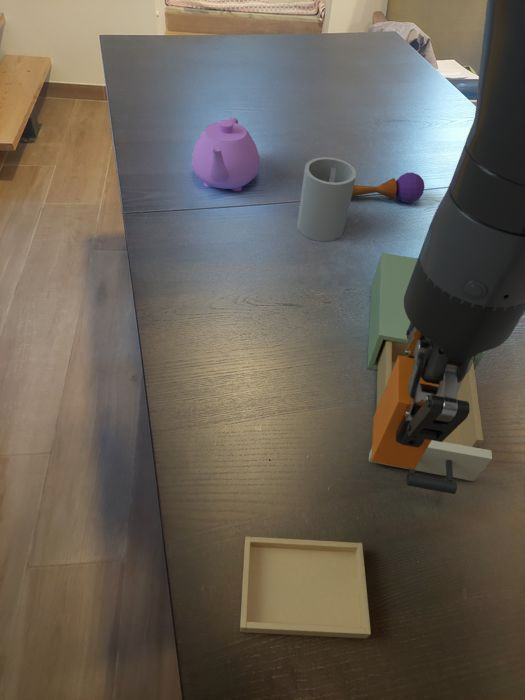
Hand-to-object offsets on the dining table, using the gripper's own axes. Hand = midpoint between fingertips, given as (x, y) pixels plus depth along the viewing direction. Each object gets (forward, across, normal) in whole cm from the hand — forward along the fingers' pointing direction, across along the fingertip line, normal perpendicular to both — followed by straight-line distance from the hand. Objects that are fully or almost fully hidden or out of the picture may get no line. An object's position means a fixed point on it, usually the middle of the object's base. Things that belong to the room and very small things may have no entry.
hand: (407, 413), depth 45 cm
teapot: (+21, +68, +32) cm, 78 cm away
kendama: (+21, +70, +1) cm, 73 cm away
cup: (+21, +57, +11) cm, 62 cm away
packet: (+5, 0, 0) cm, 5 cm away
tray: (+22, -9, +6) cm, 24 cm away
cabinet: (+21, +33, -7) cm, 40 cm away
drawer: (+21, +14, -7) cm, 26 cm away
